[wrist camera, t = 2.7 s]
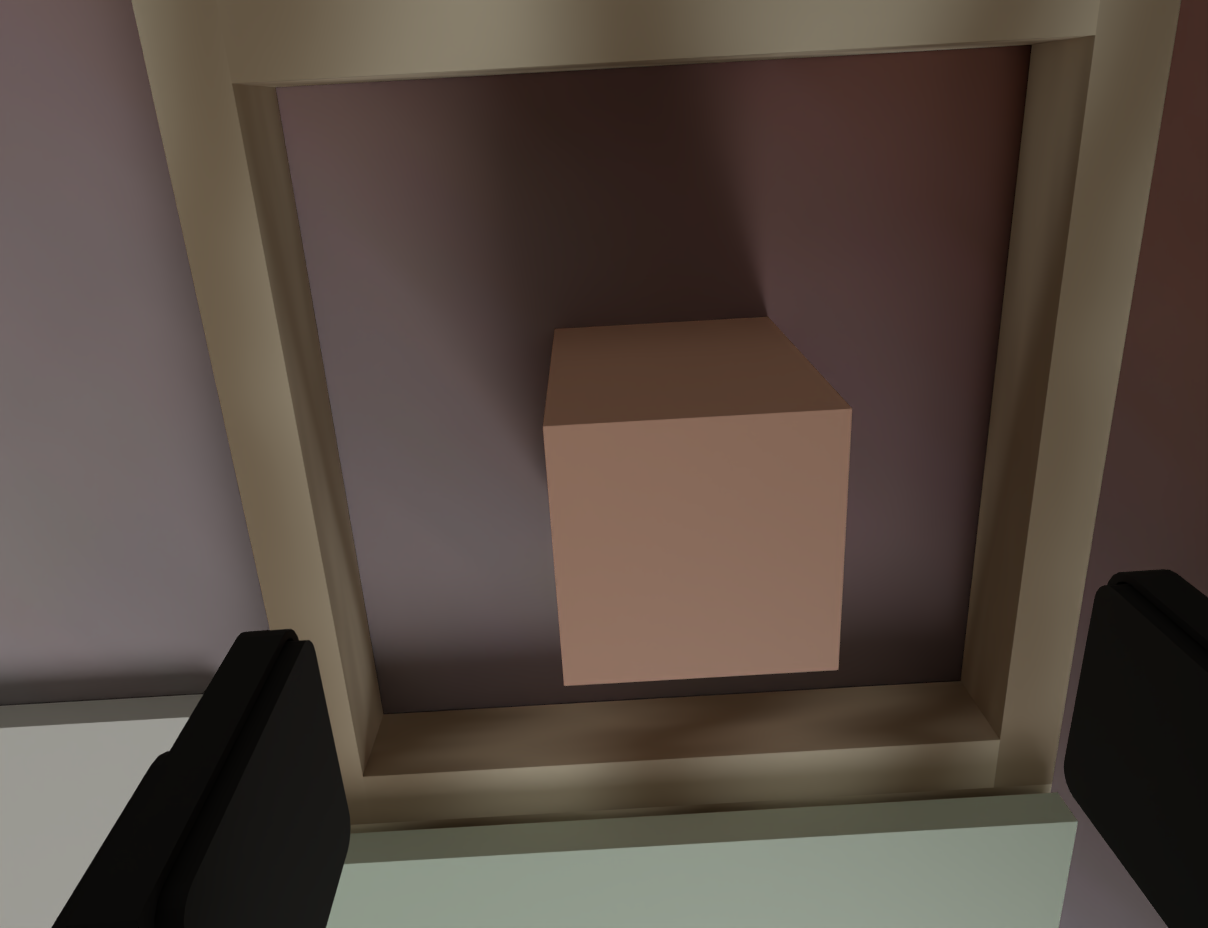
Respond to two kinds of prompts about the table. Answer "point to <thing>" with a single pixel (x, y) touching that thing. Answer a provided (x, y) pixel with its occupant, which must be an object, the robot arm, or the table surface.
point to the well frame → (699, 723)
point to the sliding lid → (726, 869)
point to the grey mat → (70, 790)
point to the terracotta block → (694, 502)
